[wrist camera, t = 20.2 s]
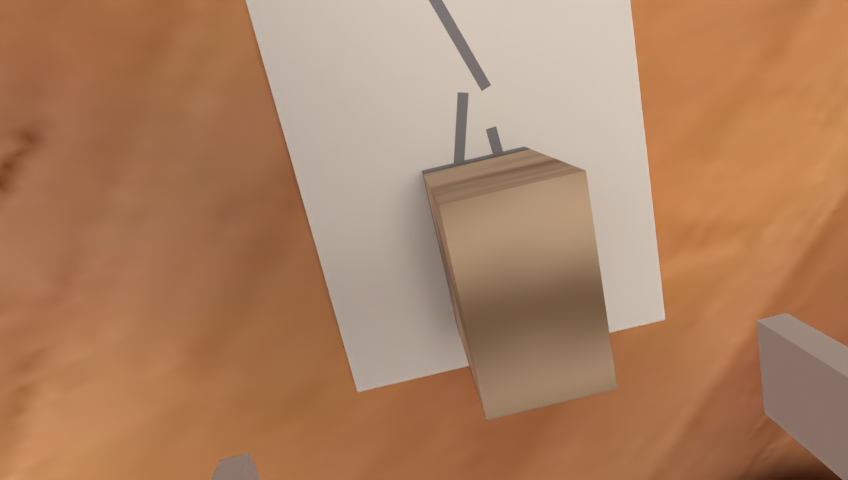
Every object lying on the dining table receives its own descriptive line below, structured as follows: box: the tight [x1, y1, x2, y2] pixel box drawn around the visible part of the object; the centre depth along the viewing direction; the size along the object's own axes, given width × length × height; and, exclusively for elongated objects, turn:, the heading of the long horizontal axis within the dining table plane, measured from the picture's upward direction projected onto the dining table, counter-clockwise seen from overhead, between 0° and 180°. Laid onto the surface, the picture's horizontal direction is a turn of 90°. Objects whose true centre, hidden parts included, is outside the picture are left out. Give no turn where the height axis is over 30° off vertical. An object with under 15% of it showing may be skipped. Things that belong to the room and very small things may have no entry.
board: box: [246, 0, 665, 392], centre depth 32 cm, size 30×20×2 cm, turn 12°
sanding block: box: [422, 147, 617, 420], centre depth 28 cm, size 10×6×10 cm, turn 13°
